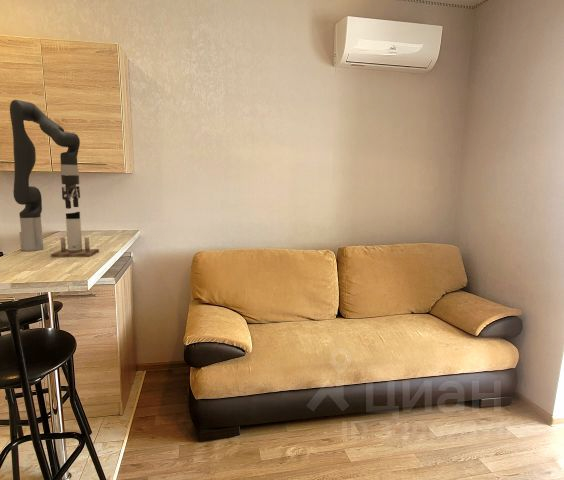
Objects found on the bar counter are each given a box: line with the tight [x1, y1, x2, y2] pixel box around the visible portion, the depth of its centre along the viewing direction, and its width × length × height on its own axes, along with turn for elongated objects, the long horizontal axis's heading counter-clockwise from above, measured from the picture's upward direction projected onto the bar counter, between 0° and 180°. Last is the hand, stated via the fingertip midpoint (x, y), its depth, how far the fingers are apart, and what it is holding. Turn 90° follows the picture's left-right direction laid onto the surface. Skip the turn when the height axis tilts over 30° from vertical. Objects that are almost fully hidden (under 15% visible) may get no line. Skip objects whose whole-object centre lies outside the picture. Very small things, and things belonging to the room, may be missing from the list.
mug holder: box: [50, 236, 100, 258], centre depth 188 cm, size 18×12×8 cm, turn 97°
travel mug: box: [65, 211, 83, 252], centre depth 186 cm, size 6×7×20 cm
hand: (72, 207), depth 184 cm, fingers open, 8 cm apart
